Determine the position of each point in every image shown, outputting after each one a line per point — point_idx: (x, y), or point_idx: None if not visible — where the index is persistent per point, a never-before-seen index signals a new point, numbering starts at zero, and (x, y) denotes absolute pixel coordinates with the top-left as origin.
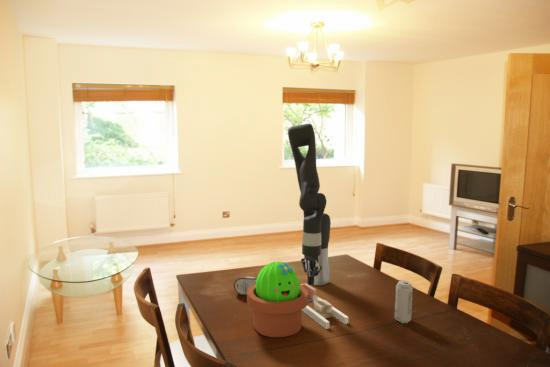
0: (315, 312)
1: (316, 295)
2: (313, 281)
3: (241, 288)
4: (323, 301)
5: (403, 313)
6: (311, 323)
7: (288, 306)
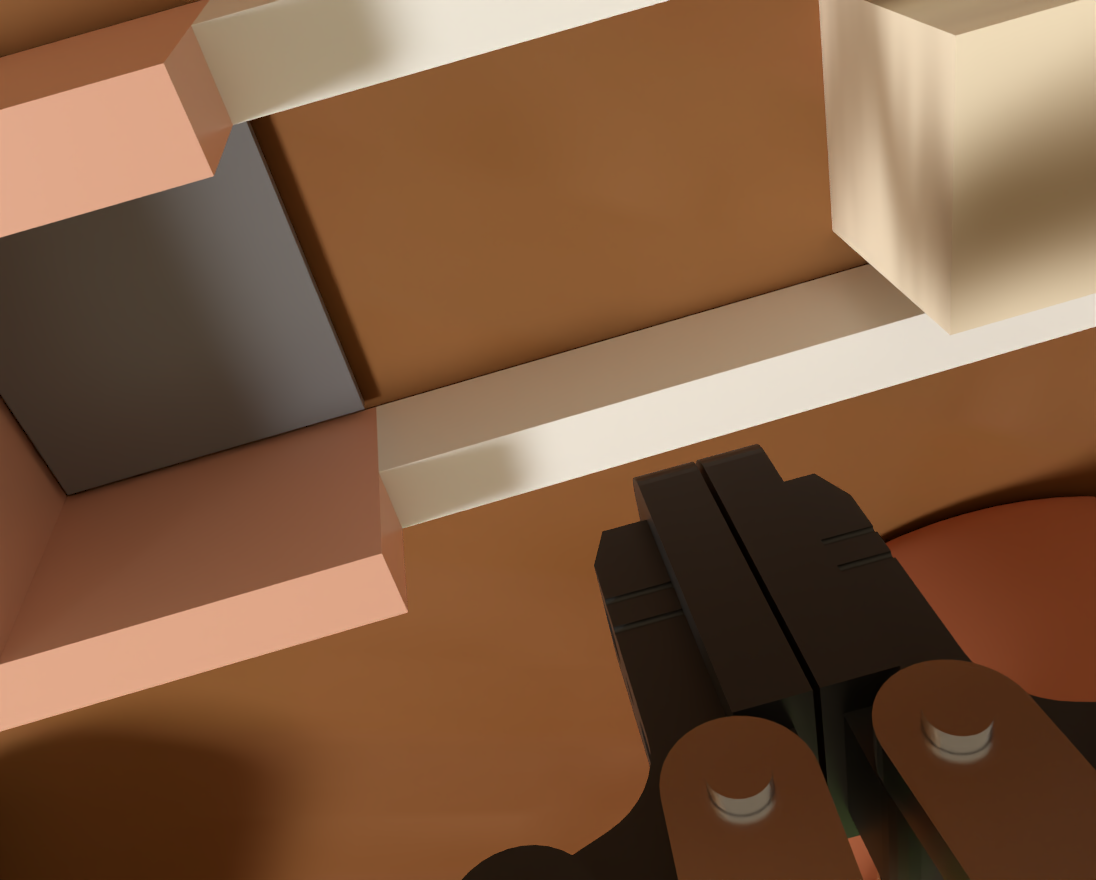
0: None
1: (216, 18)
2: (877, 555)
3: None
4: (1014, 102)
5: None
6: (1092, 341)
7: None
